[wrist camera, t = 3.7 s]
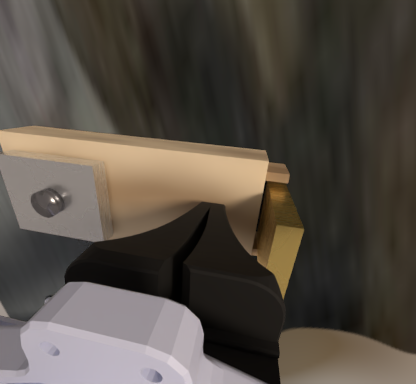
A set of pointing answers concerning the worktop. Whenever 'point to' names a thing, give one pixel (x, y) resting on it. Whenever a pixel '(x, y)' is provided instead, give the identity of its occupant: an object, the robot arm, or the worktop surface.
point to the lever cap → (58, 194)
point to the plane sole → (163, 176)
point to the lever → (278, 233)
